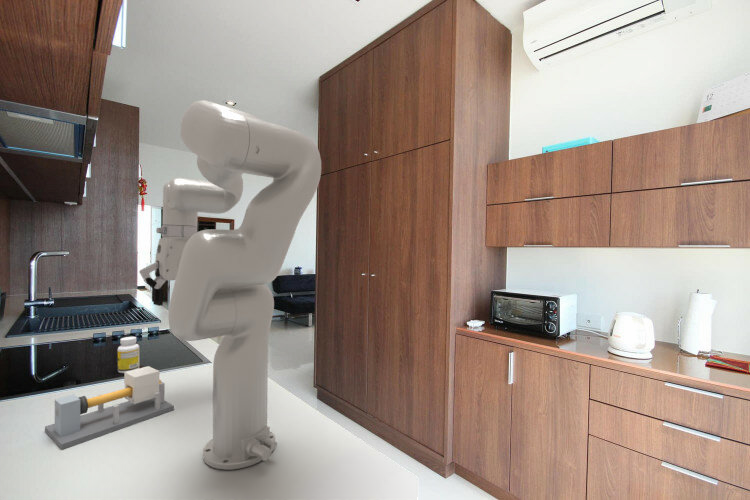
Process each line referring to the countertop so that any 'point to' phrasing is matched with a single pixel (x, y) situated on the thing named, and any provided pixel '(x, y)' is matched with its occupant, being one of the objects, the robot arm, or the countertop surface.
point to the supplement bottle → (128, 355)
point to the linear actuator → (101, 415)
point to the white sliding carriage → (142, 383)
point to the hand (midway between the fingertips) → (178, 302)
